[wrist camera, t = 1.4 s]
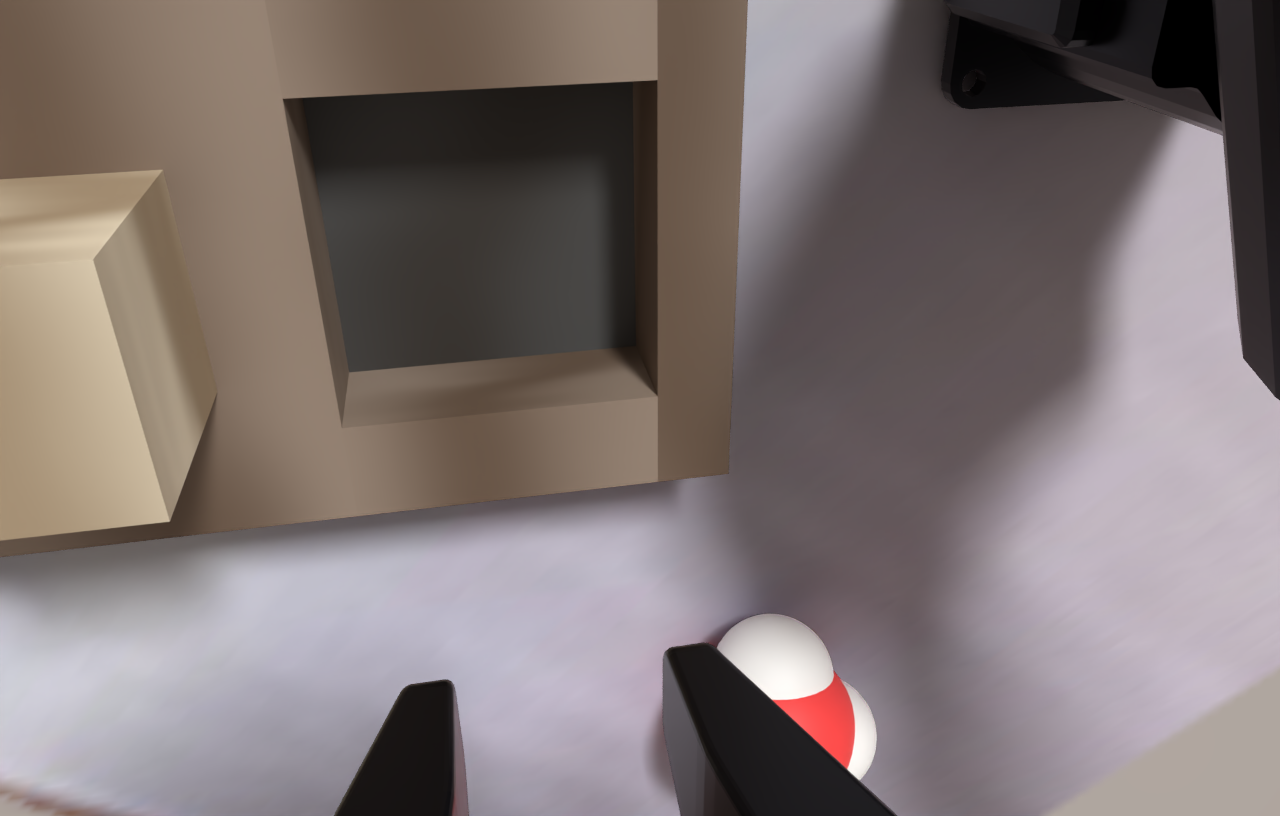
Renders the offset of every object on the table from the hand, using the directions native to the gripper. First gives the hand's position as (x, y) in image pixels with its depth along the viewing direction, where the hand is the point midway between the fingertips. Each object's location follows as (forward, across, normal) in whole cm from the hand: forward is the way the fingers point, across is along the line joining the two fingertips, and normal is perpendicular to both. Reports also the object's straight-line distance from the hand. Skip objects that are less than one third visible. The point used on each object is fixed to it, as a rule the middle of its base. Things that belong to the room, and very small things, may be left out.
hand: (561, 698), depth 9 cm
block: (+10, +7, 0) cm, 13 cm away
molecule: (+13, -6, +13) cm, 20 cm away
